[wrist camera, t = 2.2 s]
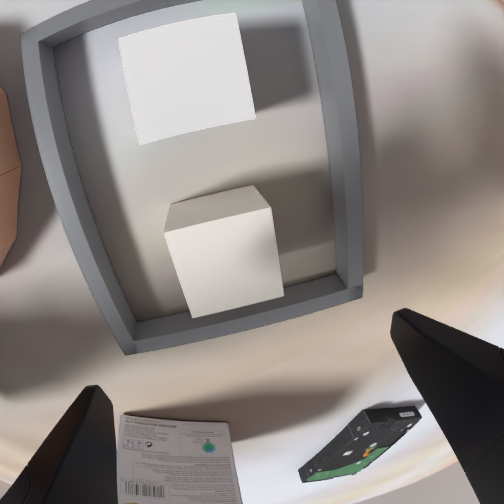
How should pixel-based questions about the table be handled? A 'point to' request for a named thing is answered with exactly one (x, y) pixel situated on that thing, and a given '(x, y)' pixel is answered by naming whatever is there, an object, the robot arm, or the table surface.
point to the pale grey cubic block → (186, 77)
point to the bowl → (8, 179)
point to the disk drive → (360, 443)
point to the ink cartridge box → (175, 462)
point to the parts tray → (84, 228)
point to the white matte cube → (224, 250)
